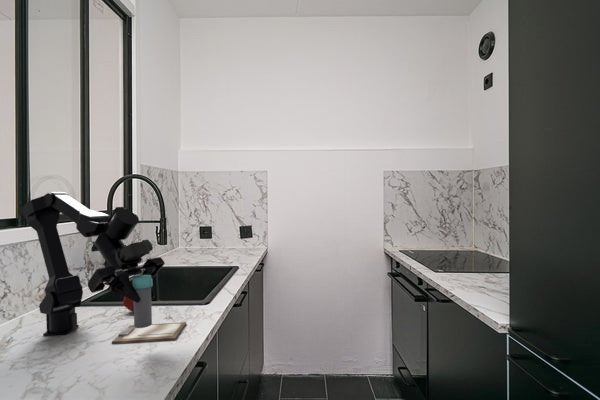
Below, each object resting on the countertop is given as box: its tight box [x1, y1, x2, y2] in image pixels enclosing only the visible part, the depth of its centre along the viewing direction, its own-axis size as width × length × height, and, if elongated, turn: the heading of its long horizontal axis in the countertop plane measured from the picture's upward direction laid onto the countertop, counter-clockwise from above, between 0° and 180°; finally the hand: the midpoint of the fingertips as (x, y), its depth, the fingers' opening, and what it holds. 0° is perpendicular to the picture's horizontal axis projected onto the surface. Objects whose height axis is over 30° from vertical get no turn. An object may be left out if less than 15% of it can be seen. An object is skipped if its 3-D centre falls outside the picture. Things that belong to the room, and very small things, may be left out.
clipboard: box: [111, 321, 187, 345], centre depth 98 cm, size 16×12×1 cm
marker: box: [132, 275, 154, 328], centre depth 88 cm, size 4×4×12 cm
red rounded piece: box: [122, 296, 134, 313], centre depth 119 cm, size 6×6×8 cm
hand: (146, 298), depth 87 cm, fingers closed on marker, 4 cm apart
